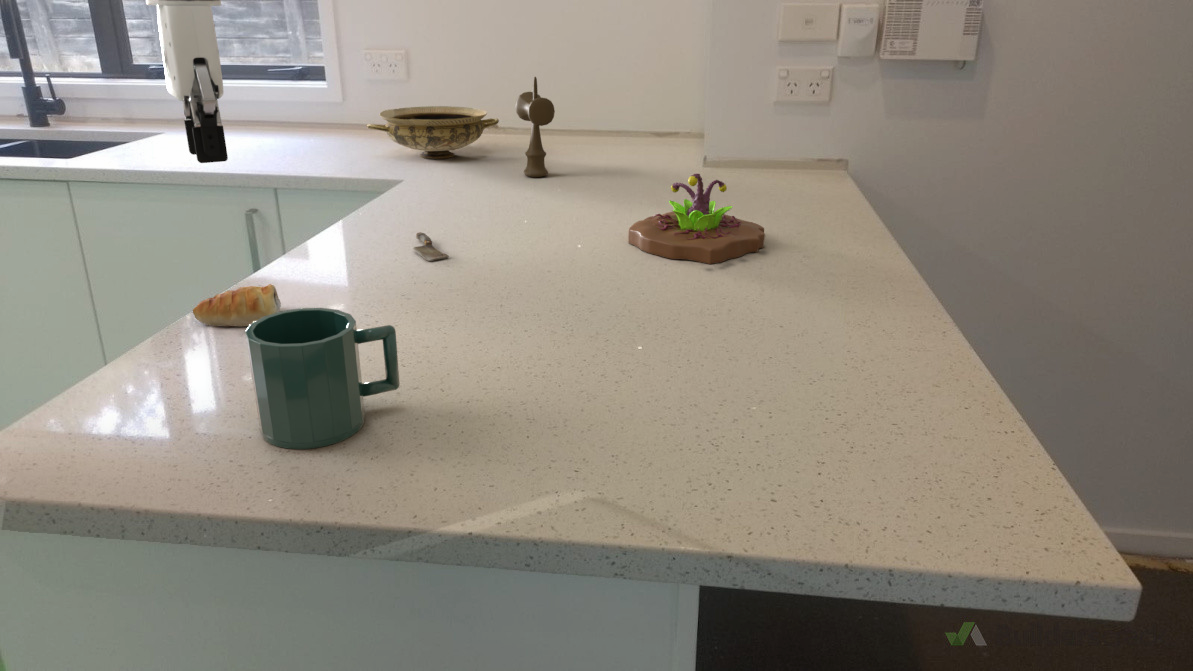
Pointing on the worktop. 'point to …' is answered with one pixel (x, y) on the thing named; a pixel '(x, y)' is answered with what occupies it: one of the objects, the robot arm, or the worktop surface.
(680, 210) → the plant
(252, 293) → the pastry
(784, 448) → the worktop surface
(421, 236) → the meat cleaver
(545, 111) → the kendama
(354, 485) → the worktop surface
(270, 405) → the mug
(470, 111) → the ceramic bowl
